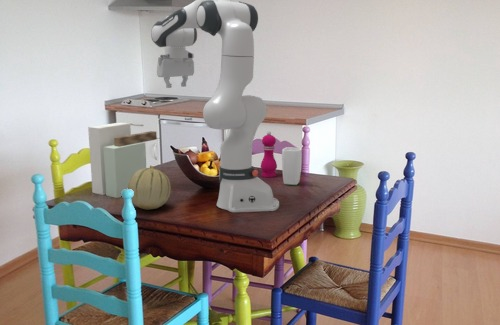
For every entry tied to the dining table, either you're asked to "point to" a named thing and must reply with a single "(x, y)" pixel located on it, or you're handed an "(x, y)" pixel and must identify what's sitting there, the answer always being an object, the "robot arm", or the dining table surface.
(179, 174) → the dining table surface
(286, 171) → the cup
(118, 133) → the tall stand
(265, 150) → the pepper mill
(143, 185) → the cantaloupe
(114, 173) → the pale green block
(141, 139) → the walnut bar
